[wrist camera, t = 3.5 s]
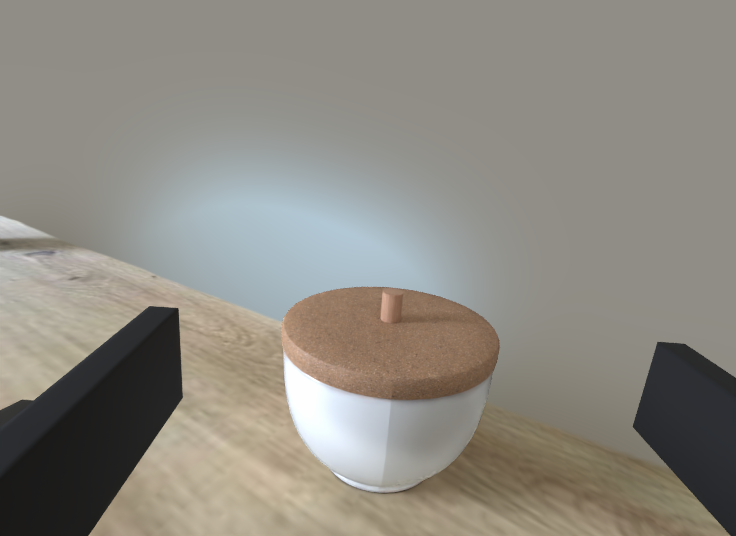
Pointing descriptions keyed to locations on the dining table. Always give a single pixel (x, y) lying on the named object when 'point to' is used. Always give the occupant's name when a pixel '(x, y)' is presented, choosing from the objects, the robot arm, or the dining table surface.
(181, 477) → the dining table surface
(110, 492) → the robot arm
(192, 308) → the dining table surface
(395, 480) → the trinket box
